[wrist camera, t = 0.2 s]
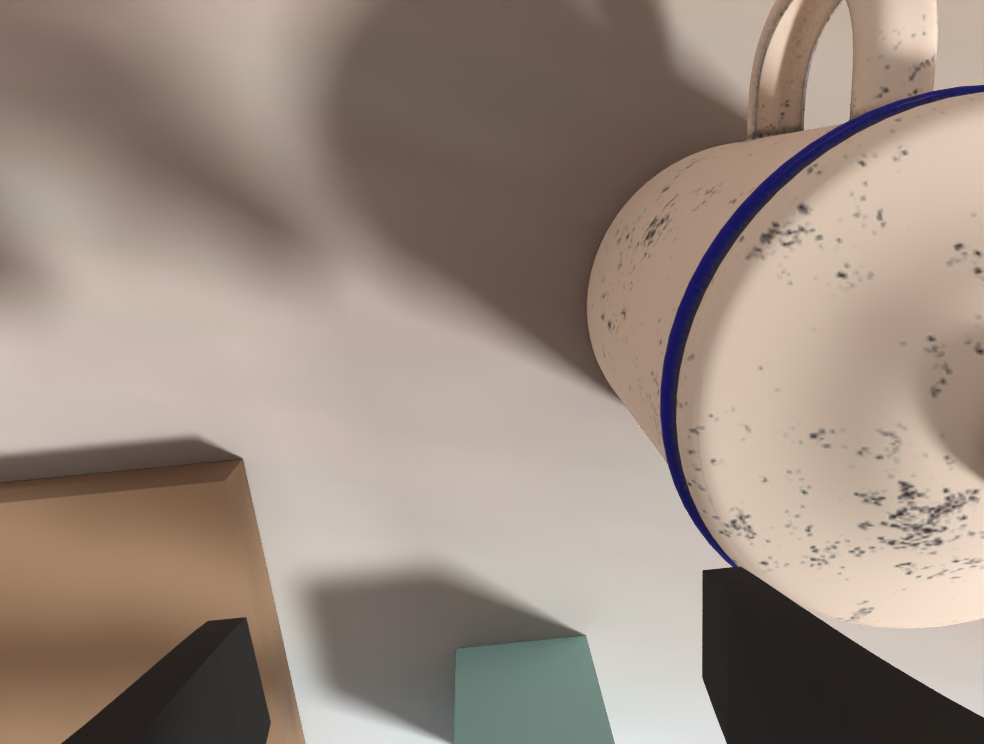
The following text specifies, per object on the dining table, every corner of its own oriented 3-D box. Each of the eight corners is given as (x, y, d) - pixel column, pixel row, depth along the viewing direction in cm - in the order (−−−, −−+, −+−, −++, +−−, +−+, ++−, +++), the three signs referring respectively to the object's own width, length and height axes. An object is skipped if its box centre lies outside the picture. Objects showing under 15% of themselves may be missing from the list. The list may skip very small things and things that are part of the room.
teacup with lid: (873, 423, 20) (1398, 725, 9) (586, 457, 20) (743, 807, 9) (899, -4, 16) (1819, -412, 5) (554, 37, 16) (742, -288, 5)
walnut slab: (309, 763, 23) (298, 802, 21) (-25, 798, 23) (-58, 840, 21) (243, 459, 19) (225, 480, 18) (-151, 497, 19) (-201, 522, 18)
